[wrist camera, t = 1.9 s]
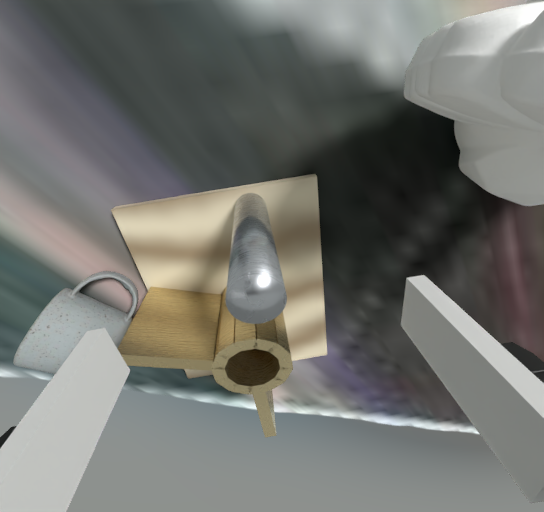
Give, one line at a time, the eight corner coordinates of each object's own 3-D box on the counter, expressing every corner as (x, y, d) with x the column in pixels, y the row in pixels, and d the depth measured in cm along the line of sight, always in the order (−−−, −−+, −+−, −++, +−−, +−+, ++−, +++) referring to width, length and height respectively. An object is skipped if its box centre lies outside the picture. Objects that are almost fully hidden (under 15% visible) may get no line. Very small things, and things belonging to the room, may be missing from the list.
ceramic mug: (124, 346, 33) (94, 405, 27) (52, 321, 31) (-1, 379, 24) (160, 286, 30) (136, 336, 23) (83, 252, 27) (31, 297, 20)
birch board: (115, 206, 25) (110, 210, 24) (314, 173, 25) (317, 176, 24) (189, 372, 37) (188, 378, 36) (325, 349, 37) (327, 354, 36)
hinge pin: (231, 195, 24) (219, 280, 12) (263, 190, 24) (283, 269, 12) (238, 225, 26) (232, 328, 14) (268, 220, 26) (290, 318, 14)
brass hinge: (146, 287, 28) (109, 355, 20) (274, 265, 28) (286, 324, 21) (188, 378, 36) (172, 453, 28) (289, 360, 36) (302, 430, 28)
